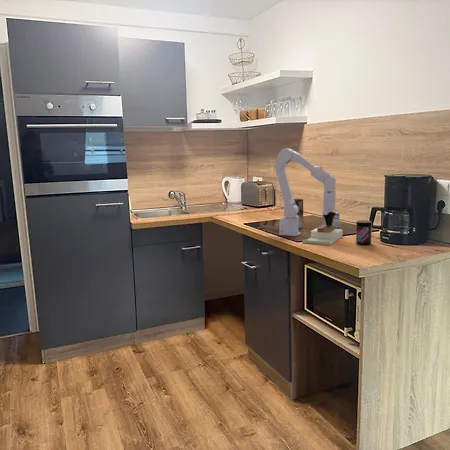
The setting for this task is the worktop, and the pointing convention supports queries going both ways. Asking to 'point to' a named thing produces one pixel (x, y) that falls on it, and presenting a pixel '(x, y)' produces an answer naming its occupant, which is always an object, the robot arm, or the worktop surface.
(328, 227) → the tile
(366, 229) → the supplement container
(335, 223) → the medicine box
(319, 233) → the white box
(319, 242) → the mat
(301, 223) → the coffee box
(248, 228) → the worktop surface
